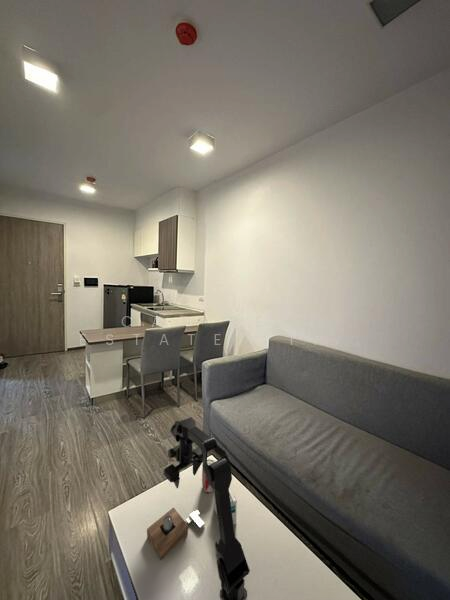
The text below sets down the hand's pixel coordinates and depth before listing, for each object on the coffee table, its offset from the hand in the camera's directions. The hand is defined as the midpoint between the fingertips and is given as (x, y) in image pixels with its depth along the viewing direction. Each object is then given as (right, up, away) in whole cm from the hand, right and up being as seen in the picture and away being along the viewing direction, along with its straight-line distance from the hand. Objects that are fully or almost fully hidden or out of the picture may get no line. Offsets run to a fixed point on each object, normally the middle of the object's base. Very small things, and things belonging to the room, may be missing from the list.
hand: (185, 480), depth 102 cm
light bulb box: (+17, -13, -2) cm, 22 cm away
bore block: (-5, -14, -10) cm, 18 cm away
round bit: (-5, -14, -10) cm, 18 cm away
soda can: (+10, -12, +11) cm, 19 cm away
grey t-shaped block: (+5, -14, -6) cm, 16 cm away
